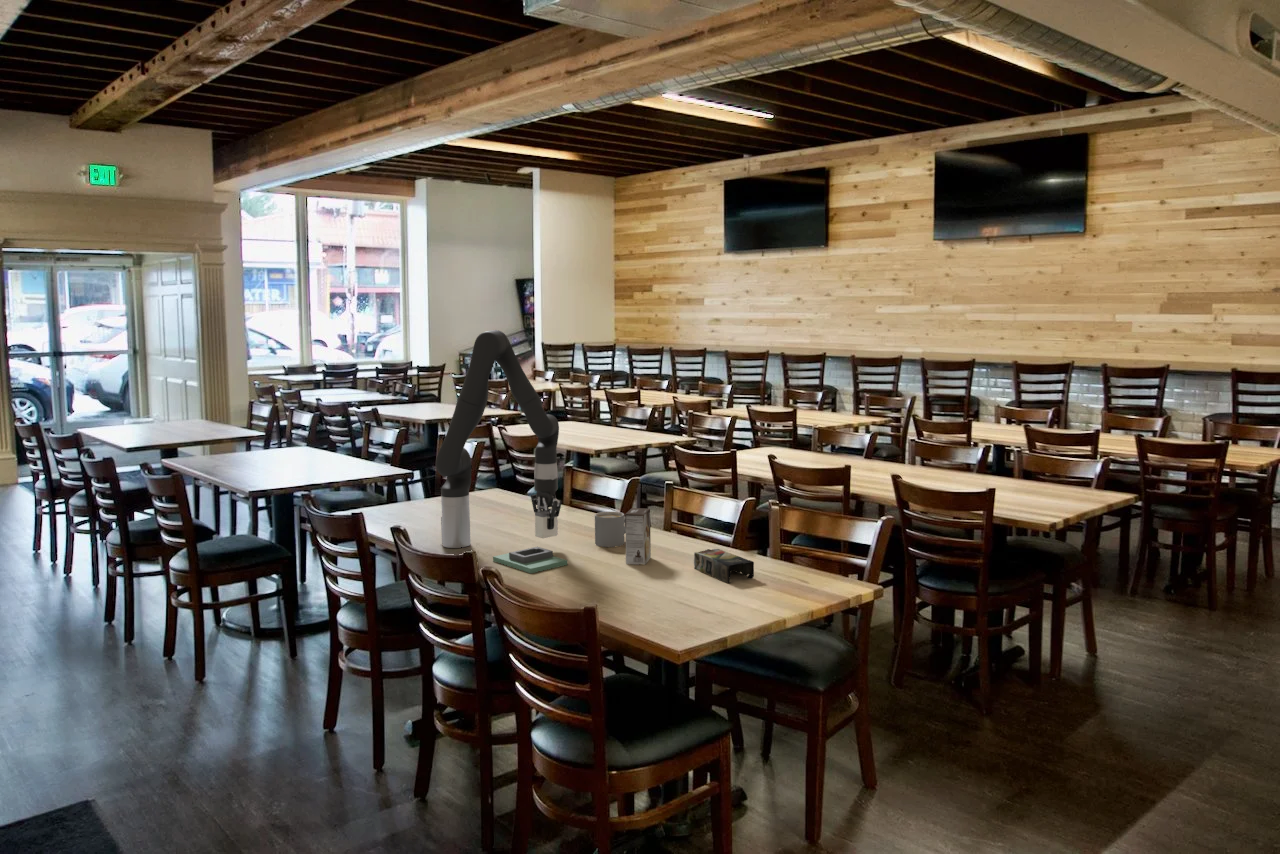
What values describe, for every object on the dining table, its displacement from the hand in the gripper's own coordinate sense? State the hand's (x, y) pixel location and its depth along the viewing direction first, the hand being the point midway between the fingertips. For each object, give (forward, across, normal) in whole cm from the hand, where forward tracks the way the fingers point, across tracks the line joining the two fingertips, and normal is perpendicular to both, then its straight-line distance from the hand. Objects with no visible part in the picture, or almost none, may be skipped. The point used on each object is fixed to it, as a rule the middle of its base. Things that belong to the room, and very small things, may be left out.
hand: (546, 527), depth 319 cm
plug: (+3, 0, 0) cm, 3 cm away
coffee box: (+8, +30, +13) cm, 34 cm away
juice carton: (+7, +59, +21) cm, 63 cm away
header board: (+8, +8, -13) cm, 17 cm away
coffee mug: (+8, +8, +23) cm, 26 cm away
